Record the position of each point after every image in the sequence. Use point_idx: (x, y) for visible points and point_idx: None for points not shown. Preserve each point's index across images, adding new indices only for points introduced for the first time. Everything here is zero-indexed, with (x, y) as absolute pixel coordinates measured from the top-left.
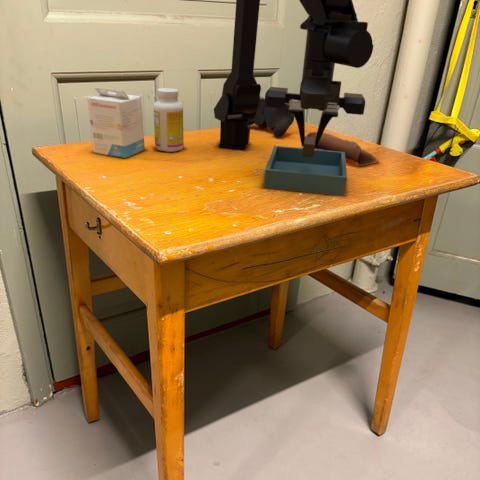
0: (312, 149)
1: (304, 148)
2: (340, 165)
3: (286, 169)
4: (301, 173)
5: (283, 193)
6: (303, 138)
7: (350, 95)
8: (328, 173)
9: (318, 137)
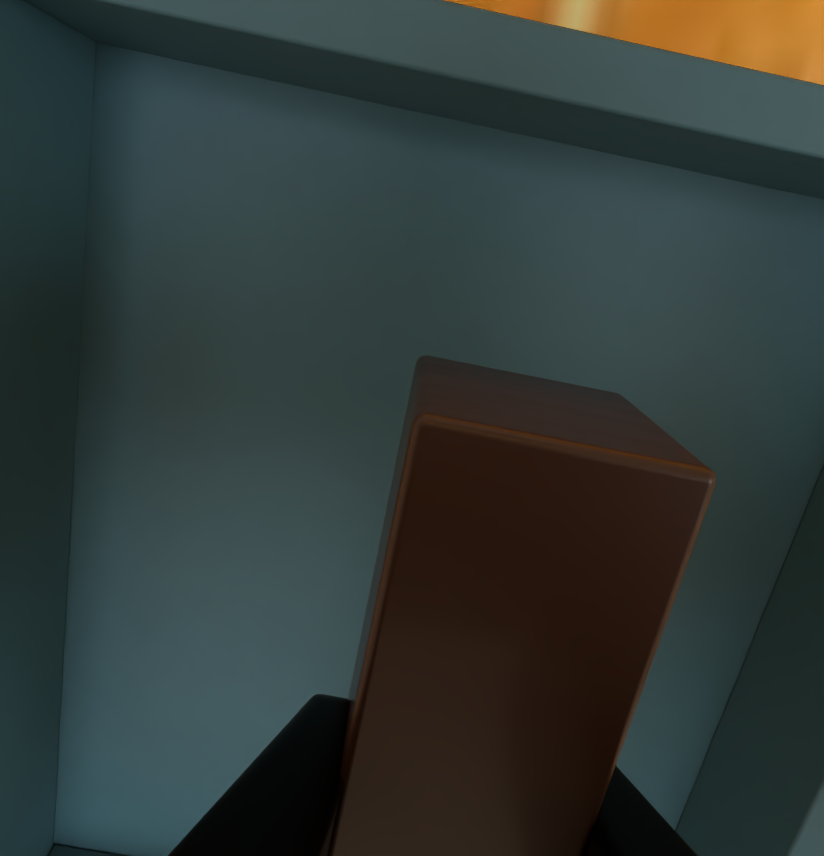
0: (460, 397)
1: (646, 433)
2: (22, 726)
3: None
4: (635, 48)
5: (776, 14)
6: (633, 849)
7: None
8: (176, 637)
9: (259, 830)
